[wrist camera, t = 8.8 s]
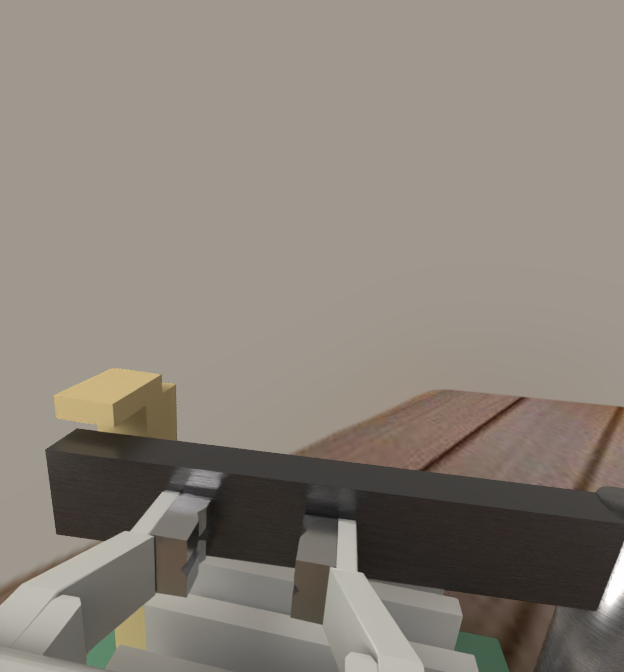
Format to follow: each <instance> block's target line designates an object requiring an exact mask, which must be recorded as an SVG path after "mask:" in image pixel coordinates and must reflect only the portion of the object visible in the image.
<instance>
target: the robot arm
mask: <svg viewBox="0 0 624 672" xmlns="http://www.w3.org/2000/svg"><path fill="white" fill-rule="evenodd" d="M213 513H214V499H213V498H208V497H203V496H198V495H192V494H187V493H180V492H175V491H168V490H165V491H163V492H162V493H161V494H160V495H159V496H158V498H157V499H156V500H155V501H154V503H153V504H152V505H151V506H150V507H149V509H148V510H147V511H146V512H145V514H144V515H143V516H142V517H141V518H140V520H139V521H138V522H137V523H136V525H135V526H134V527H133V528H132V530H131V531H130V532H128V531H124V532H122V533H120V534H118V535H116V536H114V537H112V538H110V539H108V540H106V541H104V542H102V543H100V544H99V545H97V546H95V547H93V548H91V549H89V550H87V551H85V552H83V553H81V554H79V555H77V556H75V557H73V558H72V559H70V560H68V561H66V562H64V563H62V564H60V565H58V566H56V567H54V568H52V569H50V570H48V571H46V572H45V573H43V574H41V575H39V576H37V577H35V578H33V579H31V580H29V581H27V582H25V583H23V584H22V585H21V586H20V587H19V588H18V589H17V590H16V591H15V592H14V593H13V594H12V595H11V596H10V597H9V598H8V599H7V600H6V601H5V602H3V603H2V604H1V605H0V672H116V671H112V670H107V669H103V668H98V667H93V666H89V665H87V662H86V653H87V652H88V651H90V650H91V649H92V648H93V647H94V646H95V645H97V644H98V643H99V642H100V641H101V640H103V639H104V638H105V637H106V636H107V635H109V634H110V633H111V632H112V631H113V630H114V629H116V628H117V627H118V626H119V625H120V624H122V623H123V622H124V621H125V620H126V619H128V618H129V617H130V616H131V615H132V614H133V613H135V612H136V611H137V610H138V609H139V608H141V607H142V606H143V605H144V604H145V603H147V602H148V601H149V600H150V599H151V598H152V597H154V596H155V593H160V594H166V595H173V596H179V597H185V598H187V596H188V594H189V592H190V590H191V588H192V586H193V584H194V582H195V580H196V578H197V576H198V566H199V564H200V563H201V562H202V561H204V560H205V559H206V557H207V555H208V553H209V551H210V548H211V544H212V541H213V525H212V524H211V522H210V519H211V517H212V515H213ZM290 618H294V619H298V620H303V621H307V622H312V623H316V624H320V625H323V630H324V632H325V635H326V638H327V640H328V643H329V645H330V648H331V651H332V653H333V656H334V658H335V661H336V664H337V666H338V669H339V672H425V671H424V666H423V663H422V662H421V660H420V659H419V657H418V656H417V654H416V653H415V651H414V650H413V648H412V646H411V645H410V643H409V642H408V640H407V639H406V637H405V636H404V634H403V633H402V631H401V630H400V628H399V627H398V625H397V624H396V622H395V621H394V619H393V618H392V616H391V614H390V613H389V611H388V610H387V608H386V607H385V605H384V604H383V602H382V601H381V599H380V598H379V596H378V595H377V593H376V592H375V590H374V589H373V587H372V586H371V584H370V582H369V581H368V579H367V578H366V576H365V575H364V573H360V572H358V558H357V523H356V521H354V520H347V519H340V518H331V517H325V516H318V515H312V514H304V518H303V523H302V531H301V537H300V540H299V545H298V551H297V557H296V564H295V573H294V589H293V595H292V604H291V616H290Z"/></svg>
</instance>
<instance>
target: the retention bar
mask: <svg viewBox="0 0 624 672" xmlns="http://www.w3.org/2000/svg"><path fill="white" fill-rule="evenodd" d="M45 451H46V459H47V466H48V474H49V481H50V489H51V497H52V505H53V512H54V519H55V528H56V534H58V535H65V536H73V537H80V538H87V539H93V540H100V541H106V540H108V539H110V538H112V537H114V536H116V535H118V534H120V533H122V532H124V531H128V532H130V531H131V530H132V528H133V527H134V526H135V525H136V523H137V522H138V521H139V520H140V518H141V517H142V516H143V515H144V514H145V512H146V511H147V510H148V509H149V507H150V506H151V505H152V504H153V503H154V501H155V500H156V499H157V498H158V496H159V495H160V494H161V493H162V492H163V491H165V490H168V491H175V492H180V493H187V494H192V495H198V496H203V497H208V498H213V499H214V513H213V515H212V517H211V519H210V522H211V524H212V525H213V541H212V544H211V548H210V551H209V553H208V555H207V556H212V557H219V558H226V559H233V560H240V561H247V562H254V563H261V564H268V565H275V566H282V567H289V568H295V564H296V557H297V551H298V545H299V540H300V537H301V531H302V523H303V518H304V514H312V515H318V516H325V517H331V518H340V519H347V520H354V521H356V523H357V558H358V572H360V573H364V575H365V576H366V578H367V579H373V580H380V581H387V582H394V583H401V584H408V585H415V586H422V587H429V588H436V589H443V590H450V591H457V592H464V593H471V594H478V595H485V596H492V597H499V598H506V599H513V600H520V601H527V602H534V603H541V604H548V605H555V606H556V608H555V611H554V614H553V617H552V620H551V623H550V625H549V628H548V631H547V634H546V637H545V640H544V642H543V645H542V648H541V651H540V654H539V657H538V660H537V662H536V665H535V668H534V671H533V672H624V489H622V488H617V487H601V488H599V489H598V490H597V492H596V493H595V492H587V491H579V490H570V489H562V488H554V487H546V486H538V485H530V484H522V483H514V482H506V481H498V480H489V479H481V478H473V477H465V476H457V475H449V474H441V473H433V472H425V471H417V470H408V469H400V468H392V467H384V466H376V465H368V464H360V463H352V462H344V461H336V460H328V459H319V458H311V457H303V456H295V455H287V454H279V453H271V452H262V451H254V450H247V449H238V448H230V447H222V446H214V445H206V444H198V443H189V442H182V441H174V440H166V439H158V438H149V437H141V436H133V435H125V434H117V433H109V432H101V431H92V430H85V429H76V430H74V431H73V432H71V433H70V434H68V435H67V436H65V437H64V438H62V439H61V440H59V441H58V442H56V443H55V444H54V445H52V446H50V447H49V448H47V449H46V450H45Z"/></svg>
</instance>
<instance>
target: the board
mask: <svg viewBox="0 0 624 672" xmlns="http://www.w3.org/2000/svg"><path fill="white" fill-rule="evenodd" d="M54 404H55V412H56V418H57V419H64V420H70V421H76V422H82V423H88V424H95V425H97V427H98V431H101V432H109V433H117V434H125V435H133V436H141V437H149V438H158V439H166V440H174V441H177V418H176V417H177V416H176V384H172V383H164V382H162V376H161V374H155V373H147V372H140V371H133V370H125V369H118V368H112V369H109V370H107V371H105V372H103V373H101V374H99V375H96V376H94V377H92V378H90V379H88V380H85V381H83V382H81V383H79V384H77V385H75V386H72V387H70V388H68V389H66V390H64V391H62V392H59V393H57V394H55V395H54ZM294 573H295V568H289V567H282V566H275V565H268V564H261V563H254V562H247V561H240V560H233V559H226V558H219V557H212V556H207V557H206V559H205V560H204V561H202V562H201V563H200V564H199V566H198V576H197V578H196V580H195V582H194V584H193V586H192V588H191V590H190V592H189V594H188V596H187V598H185V597H179V596H173V595H166V594H160V593H155V596H154V597H152V598H151V599H150V600H149V601H148V602H147V603H145V604H144V605H143V606H142V607H141V608H139V609H138V610H137V611H136V612H135V613H133V614H132V615H131V616H130V617H129V618H128V619H126V620H125V621H124V622H123V623H122V624H120V625H119V626H118V627H117V628H116V629H114V630H113V631H112V632H111V633H110V634H109V635H107V636H106V637H105V638H104V639H103V640H101V641H100V642H99V643H98V644H97V645H95V646H94V647H93V648H92V649H91V651H90V652H89V654H88V655H87V657H86V662H87V665H89V666H93V667H98V668H103V669H107V670H112V671H116V672H339V669H338V666H337V664H336V661H335V658H334V656H333V653H332V651H331V648H330V645H329V643H328V640H327V638H326V635H325V632H324V630H323V625H320V624H316V623H312V622H307V621H303V620H298V619H294V618H290V616H291V604H292V595H293V589H294ZM368 581H369V582H370V584H371V586H372V587H373V589H374V590H375V592H376V593H377V595H378V596H379V598H380V599H381V601H382V602H383V604H384V605H385V607H386V608H387V610H388V611H389V613H390V614H391V616H392V618H393V619H394V621H395V622H396V624H397V625H398V627H399V628H400V630H401V631H402V633H403V634H404V636H405V637H406V639H407V640H408V642H409V643H410V645H411V646H412V648H413V650H414V651H415V653H416V654H417V656H418V657H419V659H420V660H421V662H422V663H423V666H424V671H425V672H509V669H508V666H507V663H506V661H505V658H504V655H503V652H502V650H501V647H500V644H499V641H498V639H496V638H491V637H486V636H481V635H477V634H472V633H467V632H462V631H459V629H460V626H461V622H462V618H463V615H462V611H461V608H460V604H459V601H458V598H454V597H449V596H443V594H444V590H443V589H436V588H429V587H422V586H415V585H408V584H401V583H394V582H387V581H380V580H373V579H368Z"/></svg>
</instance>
